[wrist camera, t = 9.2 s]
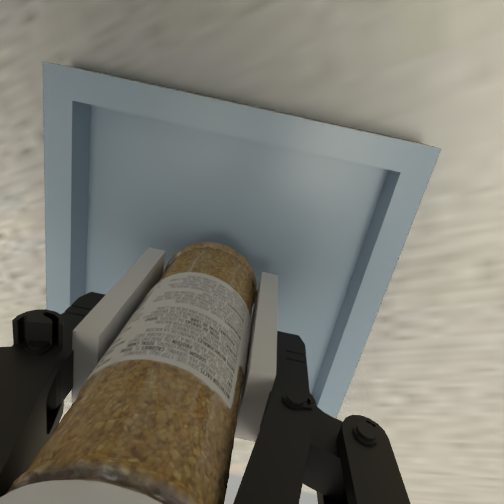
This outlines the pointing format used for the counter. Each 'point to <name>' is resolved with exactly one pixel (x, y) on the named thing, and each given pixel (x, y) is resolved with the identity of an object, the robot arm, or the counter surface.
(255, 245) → the tray
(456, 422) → the counter surface
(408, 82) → the counter surface
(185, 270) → the sprinkles bottle
